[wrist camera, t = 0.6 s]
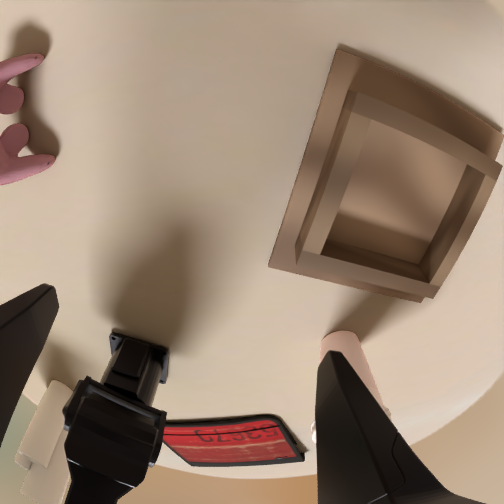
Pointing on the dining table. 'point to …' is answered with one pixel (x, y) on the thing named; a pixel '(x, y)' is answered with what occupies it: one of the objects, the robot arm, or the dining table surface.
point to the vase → (46, 448)
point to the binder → (233, 442)
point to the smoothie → (357, 359)
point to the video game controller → (16, 136)
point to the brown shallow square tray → (386, 184)
